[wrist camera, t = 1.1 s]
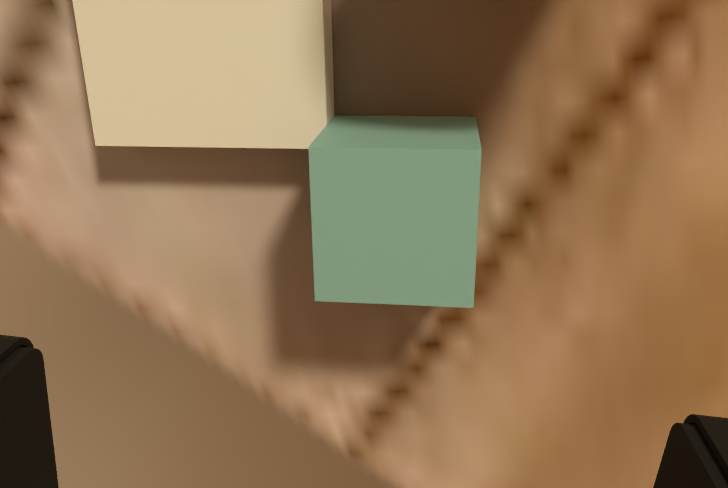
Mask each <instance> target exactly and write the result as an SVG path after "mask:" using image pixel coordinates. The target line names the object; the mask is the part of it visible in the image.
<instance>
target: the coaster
mask: <svg viewBox="0 0 728 488" xmlns="http://www.w3.org/2000/svg"><path fill="white" fill-rule="evenodd" d="M72 1H73V8H74V14H75V20H76V26H77V33H78V39H79V45H80V52H81V58H82V64H83V70H84V77H85V83H86V89H87V95H88V102H89V108H90V114H91V121H92V127H93V133H94V139H95V146H147V147H216V148H285V149H308V147H309V146H310V144H311V143H312V142H313V141H314V140H315V138H316V137H317V136H318V135H319V134H320V132H321V131H322V130H323V129H324V128H325V126H326V125H327V124H328V123H329V122H330V121H331V119H332V118H333V117H334V116H335V112H334V78H333V43H332V9H331V0H72Z"/></svg>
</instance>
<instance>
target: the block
mask: <svg viewBox="0 0 728 488" xmlns="http://www.w3.org/2000/svg"><path fill="white" fill-rule="evenodd" d="M308 152H309V176H310V199H311V223H312V246H313V270H314V294H315V301H323V302H347V303H370V304H394V305H417V306H441V307H464V308H473V307H474V287H475V268H476V249H477V229H478V210H479V191H480V172H481V152H482V149H481V143H480V137H479V132H478V126H477V120H476V117H461V116H366V115H335V116H334V117H333V118H332V119H331V121H330V122H329V123H328V124H327V125H326V126H325V128H324V129H323V130H322V131H321V132H320V134H319V135H318V136H317V137H316V138H315V140H314V141H313V142H312V143H311V144H310V146H309V147H308Z"/></svg>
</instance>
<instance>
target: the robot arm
mask: <svg viewBox="0 0 728 488" xmlns="http://www.w3.org/2000/svg"><path fill="white" fill-rule="evenodd" d="M0 488H58V479H57V471H56V462H55V454H54V446H53V437H52V428H51V420H50V411H49V403H48V394H47V387H46V377H45V369H44V361H43V355H42V353H41V351H40V350H38V349H35V348H33V344H32V343H31V341H30V340H29V339H27V338H23V337H15V336H6V335H0ZM653 488H728V418H721V417H712V416H703V415H695V414H692V415H689V416H688V417H687V418H686V419H685V421H684V423H675V424H674V425H673V426H672V428H671V430H670V433H669V436H668V440H667V443H666V447H665V450H664V453H663V457H662V460H661V464H660V467H659V470H658V474H657V477H656V481H655V484H654V487H653Z"/></svg>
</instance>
